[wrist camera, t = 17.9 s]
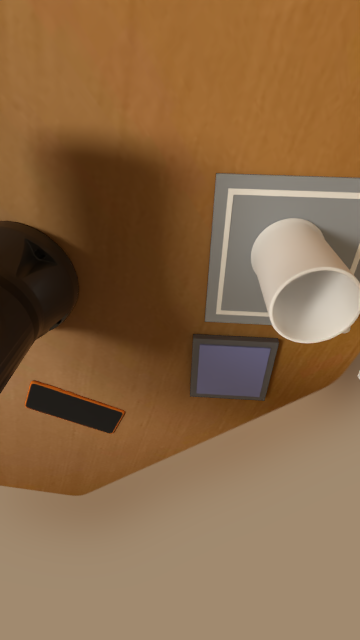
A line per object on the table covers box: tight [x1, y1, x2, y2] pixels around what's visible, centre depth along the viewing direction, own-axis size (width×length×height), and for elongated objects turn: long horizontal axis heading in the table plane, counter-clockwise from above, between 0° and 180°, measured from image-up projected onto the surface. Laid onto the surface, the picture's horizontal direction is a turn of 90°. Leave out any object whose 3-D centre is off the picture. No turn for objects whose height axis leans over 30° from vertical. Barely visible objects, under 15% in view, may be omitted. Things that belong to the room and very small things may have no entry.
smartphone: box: [25, 381, 125, 434], centre depth 58 cm, size 8×17×1 cm, turn 65°
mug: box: [251, 218, 360, 343], centre depth 34 cm, size 12×8×12 cm
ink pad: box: [190, 334, 279, 401], centre depth 49 cm, size 12×12×1 cm
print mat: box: [205, 173, 360, 325], centre depth 39 cm, size 19×19×1 cm
